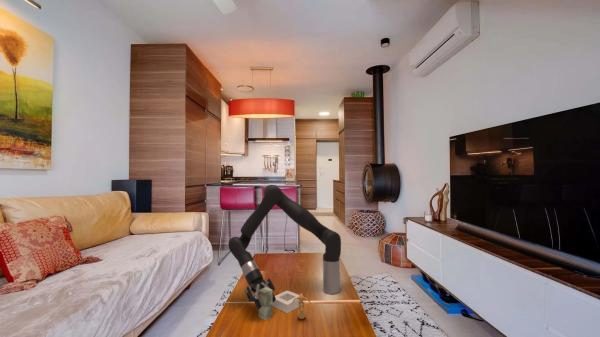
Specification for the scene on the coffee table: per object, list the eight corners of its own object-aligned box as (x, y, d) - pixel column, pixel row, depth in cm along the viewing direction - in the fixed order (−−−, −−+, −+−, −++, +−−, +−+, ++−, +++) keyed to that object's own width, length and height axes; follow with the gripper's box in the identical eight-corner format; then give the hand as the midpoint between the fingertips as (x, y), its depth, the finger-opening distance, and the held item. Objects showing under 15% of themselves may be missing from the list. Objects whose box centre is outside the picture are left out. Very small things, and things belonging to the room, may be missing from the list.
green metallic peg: (266, 313, 121) (266, 287, 121) (272, 316, 118) (272, 289, 118) (258, 316, 117) (258, 290, 118) (264, 320, 114) (264, 293, 115)
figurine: (310, 316, 118) (310, 289, 118) (310, 323, 112) (310, 295, 112) (292, 316, 118) (292, 289, 118) (291, 323, 112) (291, 295, 112)
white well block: (287, 298, 136) (287, 290, 136) (302, 304, 128) (302, 296, 128) (271, 305, 127) (271, 297, 128) (287, 313, 120) (287, 304, 120)
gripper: (242, 272, 118) (258, 306, 110) (266, 264, 128) (282, 295, 120) (236, 281, 121) (251, 314, 113) (259, 272, 132) (275, 303, 124)
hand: (267, 304), depth 117 cm, fingers open, 8 cm apart
